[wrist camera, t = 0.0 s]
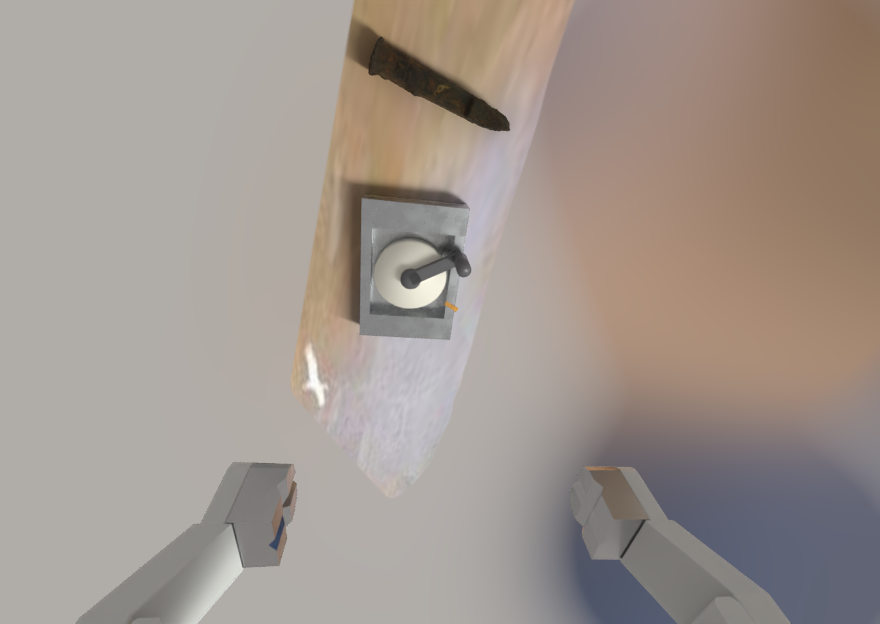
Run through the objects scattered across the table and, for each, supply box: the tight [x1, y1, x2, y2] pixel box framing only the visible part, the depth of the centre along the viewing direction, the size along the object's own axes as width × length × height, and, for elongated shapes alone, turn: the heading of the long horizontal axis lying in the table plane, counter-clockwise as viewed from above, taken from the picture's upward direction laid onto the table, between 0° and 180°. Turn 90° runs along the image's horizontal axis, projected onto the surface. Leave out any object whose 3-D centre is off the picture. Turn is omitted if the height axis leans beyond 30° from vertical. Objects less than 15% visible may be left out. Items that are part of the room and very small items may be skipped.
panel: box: [360, 194, 470, 340], centre depth 57 cm, size 22×16×3 cm
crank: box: [374, 238, 471, 308], centre depth 54 cm, size 11×14×8 cm
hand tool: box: [369, 37, 510, 131], centre depth 46 cm, size 19×4×5 cm, turn 62°
